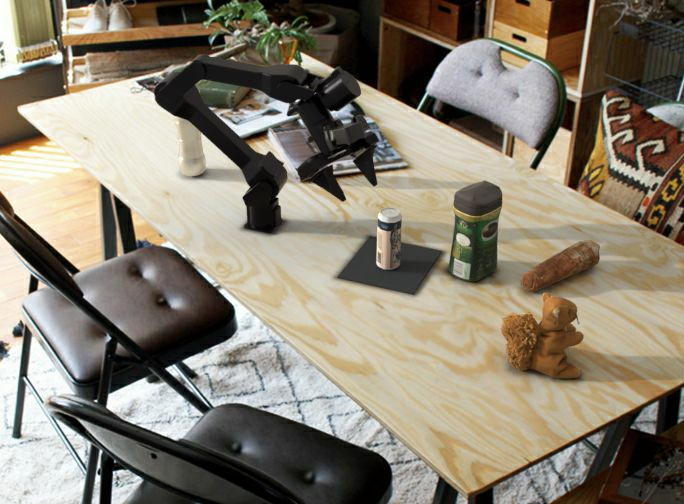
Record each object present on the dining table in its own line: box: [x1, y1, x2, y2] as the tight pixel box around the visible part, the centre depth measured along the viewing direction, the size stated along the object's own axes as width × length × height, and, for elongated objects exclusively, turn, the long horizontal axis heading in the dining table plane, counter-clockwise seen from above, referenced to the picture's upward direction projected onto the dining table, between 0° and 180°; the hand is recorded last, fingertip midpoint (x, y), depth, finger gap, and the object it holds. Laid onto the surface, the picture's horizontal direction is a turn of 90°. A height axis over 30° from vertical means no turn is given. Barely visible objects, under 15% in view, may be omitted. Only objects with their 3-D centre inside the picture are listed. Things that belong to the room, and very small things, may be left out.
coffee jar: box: [448, 180, 503, 282], centre depth 202 cm, size 10×8×19 cm
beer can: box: [376, 207, 403, 270], centre depth 205 cm, size 5×5×12 cm
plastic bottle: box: [172, 115, 207, 177], centre depth 235 cm, size 6×7×20 cm
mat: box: [336, 235, 443, 295], centre depth 209 cm, size 16×18×1 cm
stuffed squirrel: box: [500, 292, 585, 379], centre depth 179 cm, size 10×14×13 cm
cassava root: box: [520, 239, 601, 293], centre depth 205 cm, size 6×19×6 cm, turn 127°
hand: (360, 193), depth 205 cm, fingers open, 9 cm apart
